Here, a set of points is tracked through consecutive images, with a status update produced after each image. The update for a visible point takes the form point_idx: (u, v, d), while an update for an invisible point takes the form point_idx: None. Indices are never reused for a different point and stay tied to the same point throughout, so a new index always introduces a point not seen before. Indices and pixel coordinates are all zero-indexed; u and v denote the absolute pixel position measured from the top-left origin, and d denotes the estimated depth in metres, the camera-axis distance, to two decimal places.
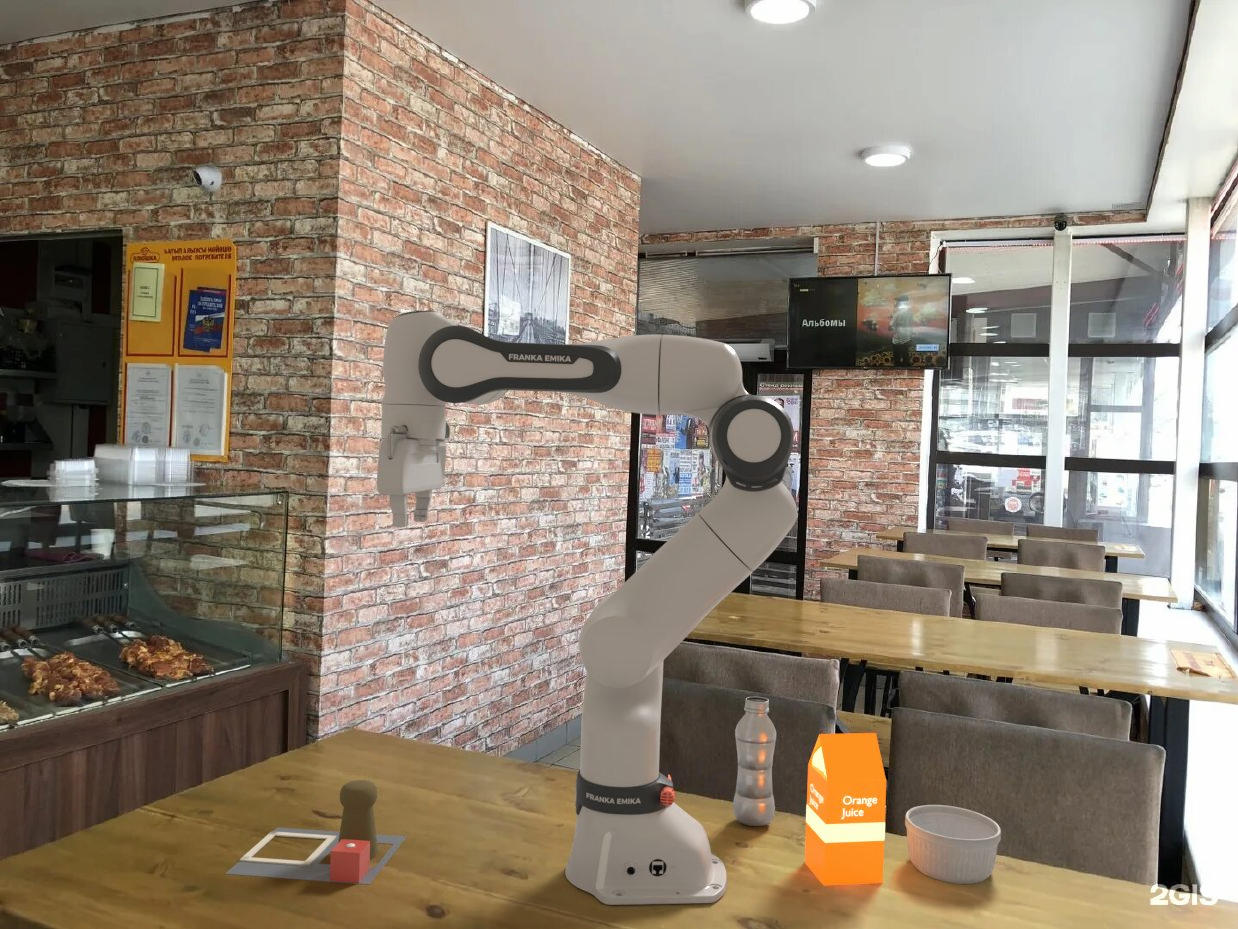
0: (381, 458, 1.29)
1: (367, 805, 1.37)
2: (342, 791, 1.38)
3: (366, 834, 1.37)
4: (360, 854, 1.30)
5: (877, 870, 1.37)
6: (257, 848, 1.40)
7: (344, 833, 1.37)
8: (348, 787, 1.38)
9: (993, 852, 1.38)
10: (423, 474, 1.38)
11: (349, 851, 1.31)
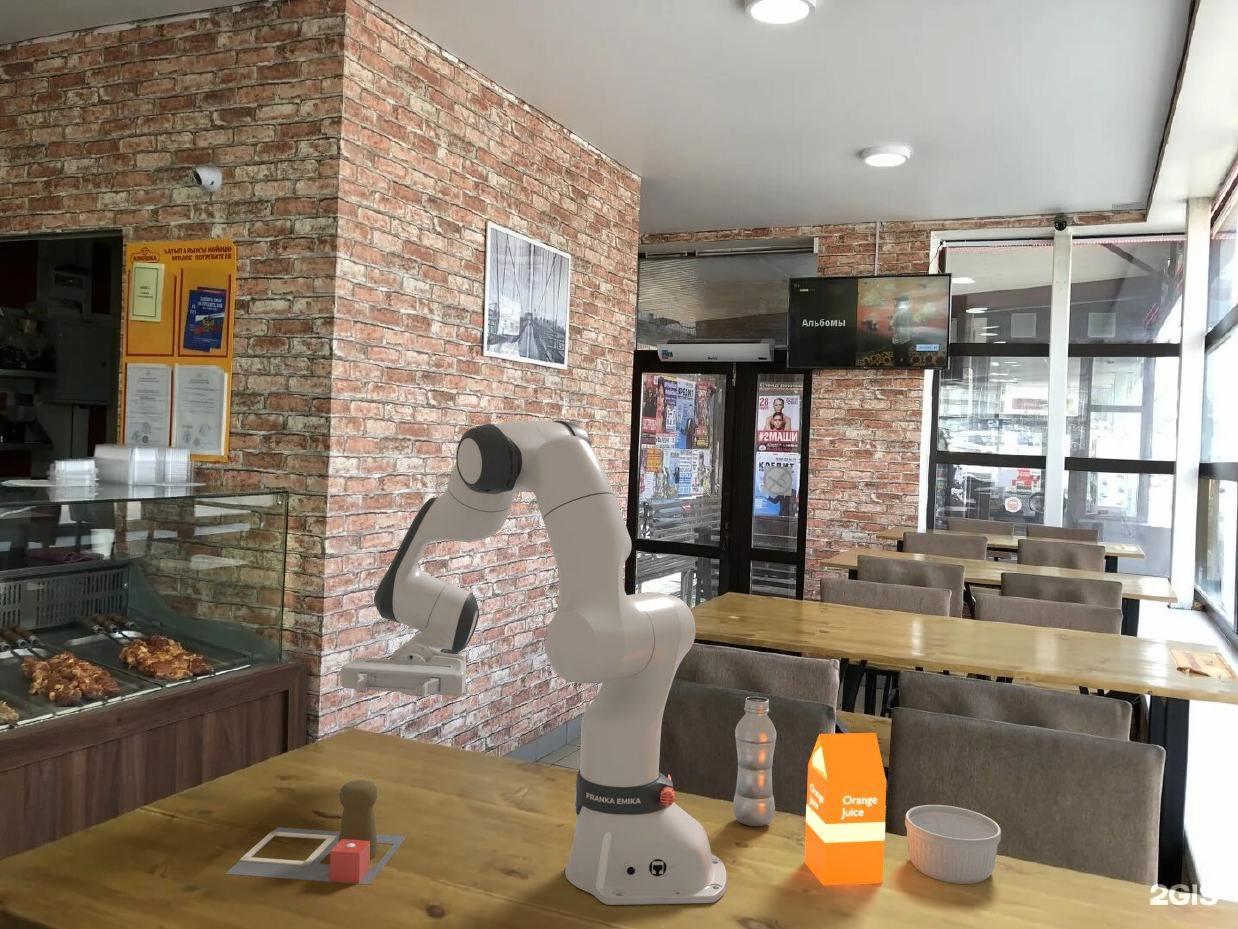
0: None
1: (367, 805, 1.37)
2: (342, 791, 1.38)
3: (366, 834, 1.37)
4: (360, 854, 1.30)
5: (877, 870, 1.37)
6: (257, 848, 1.40)
7: (344, 833, 1.37)
8: (348, 787, 1.38)
9: (993, 852, 1.38)
10: (399, 666, 1.60)
11: (349, 851, 1.31)
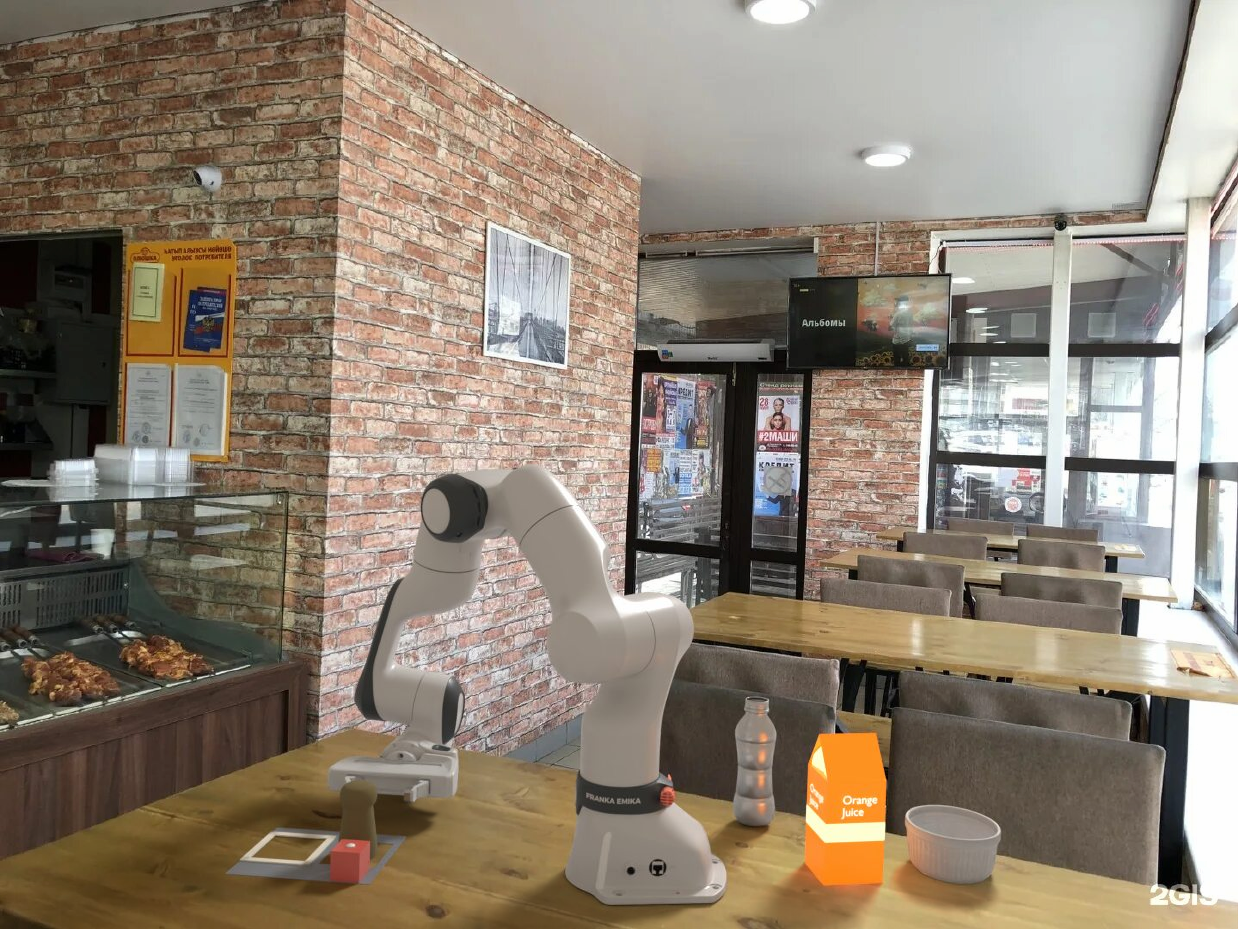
0: None
1: (367, 805, 1.37)
2: (342, 791, 1.38)
3: (366, 834, 1.37)
4: (360, 854, 1.30)
5: (877, 870, 1.37)
6: (257, 848, 1.40)
7: (344, 833, 1.37)
8: (348, 787, 1.38)
9: (993, 852, 1.38)
10: (389, 767, 1.54)
11: (349, 851, 1.31)
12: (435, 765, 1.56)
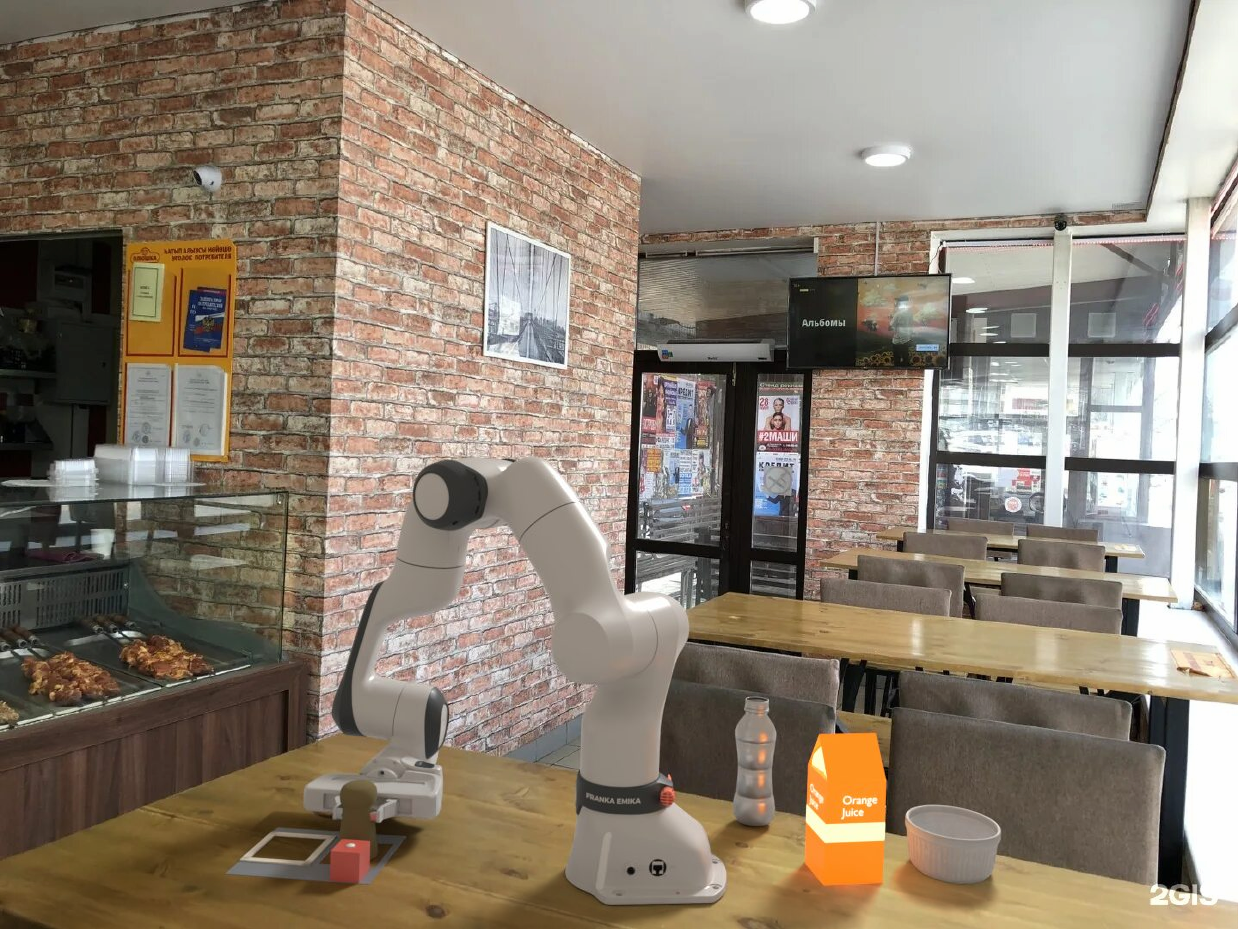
0: None
1: (367, 805, 1.37)
2: (342, 791, 1.38)
3: (366, 834, 1.37)
4: (360, 854, 1.30)
5: (877, 870, 1.37)
6: (257, 848, 1.40)
7: (344, 833, 1.37)
8: (348, 787, 1.38)
9: (993, 852, 1.38)
10: None
11: (349, 851, 1.31)
12: (418, 783, 1.48)
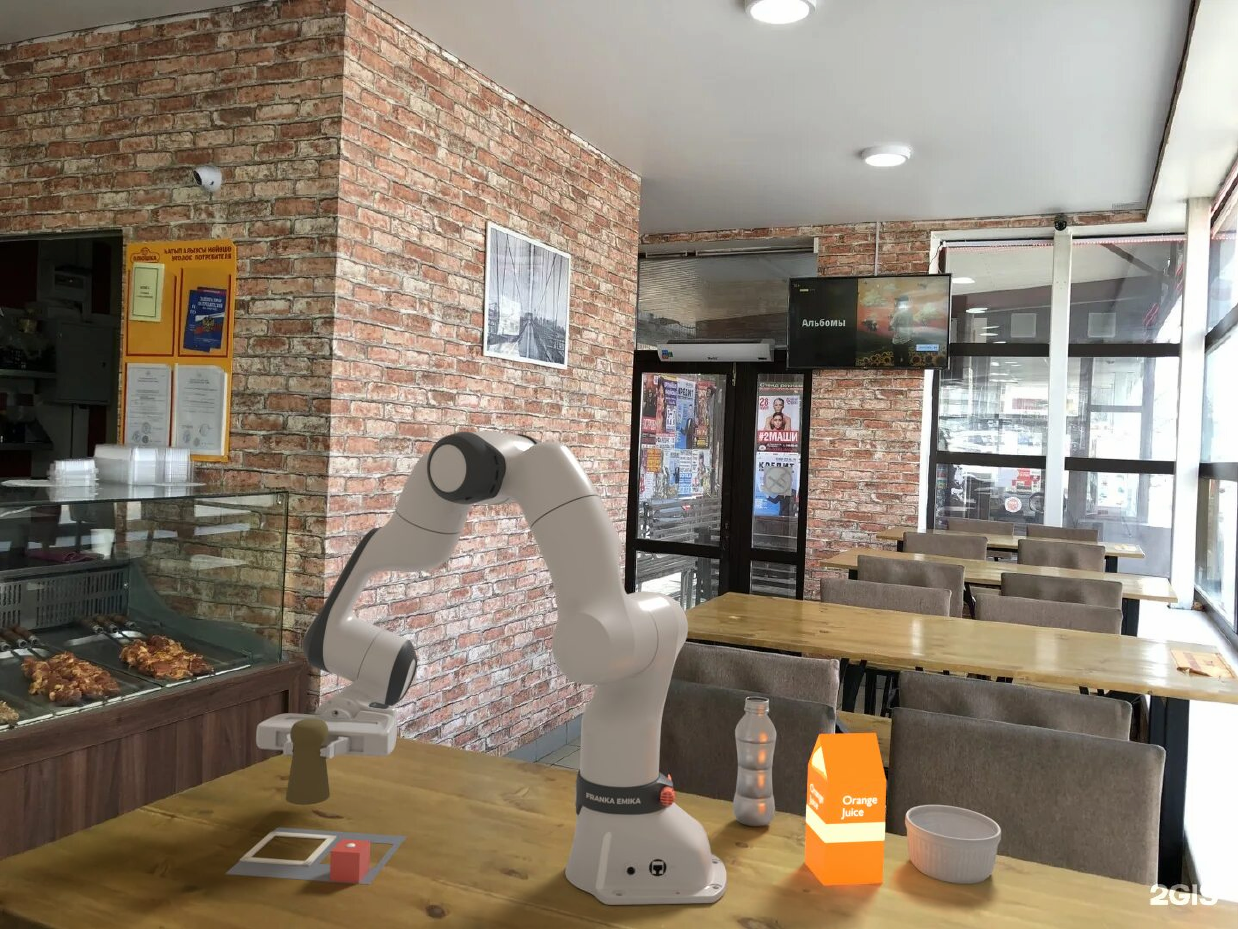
0: None
1: (317, 742, 1.38)
2: (292, 728, 1.38)
3: (316, 771, 1.38)
4: (360, 854, 1.30)
5: (877, 870, 1.37)
6: (257, 848, 1.40)
7: (294, 770, 1.38)
8: (299, 725, 1.38)
9: (993, 852, 1.38)
10: None
11: (349, 851, 1.31)
12: (371, 723, 1.48)
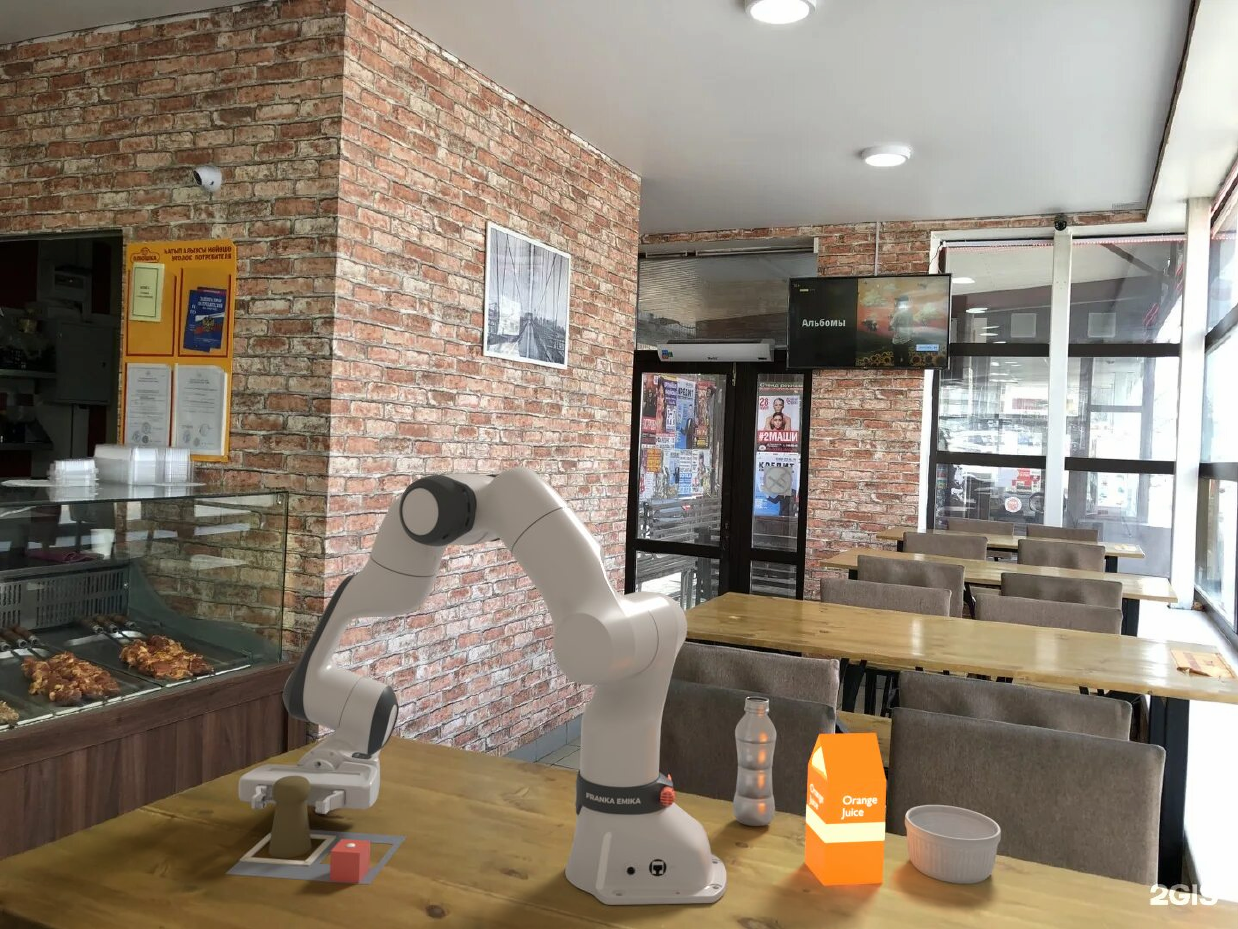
0: None
1: (299, 800, 1.38)
2: (274, 786, 1.39)
3: (298, 829, 1.38)
4: (360, 854, 1.30)
5: (877, 870, 1.37)
6: (257, 848, 1.40)
7: (276, 829, 1.38)
8: (280, 783, 1.39)
9: (993, 852, 1.38)
10: (303, 776, 1.46)
11: (349, 851, 1.31)
12: (354, 774, 1.48)
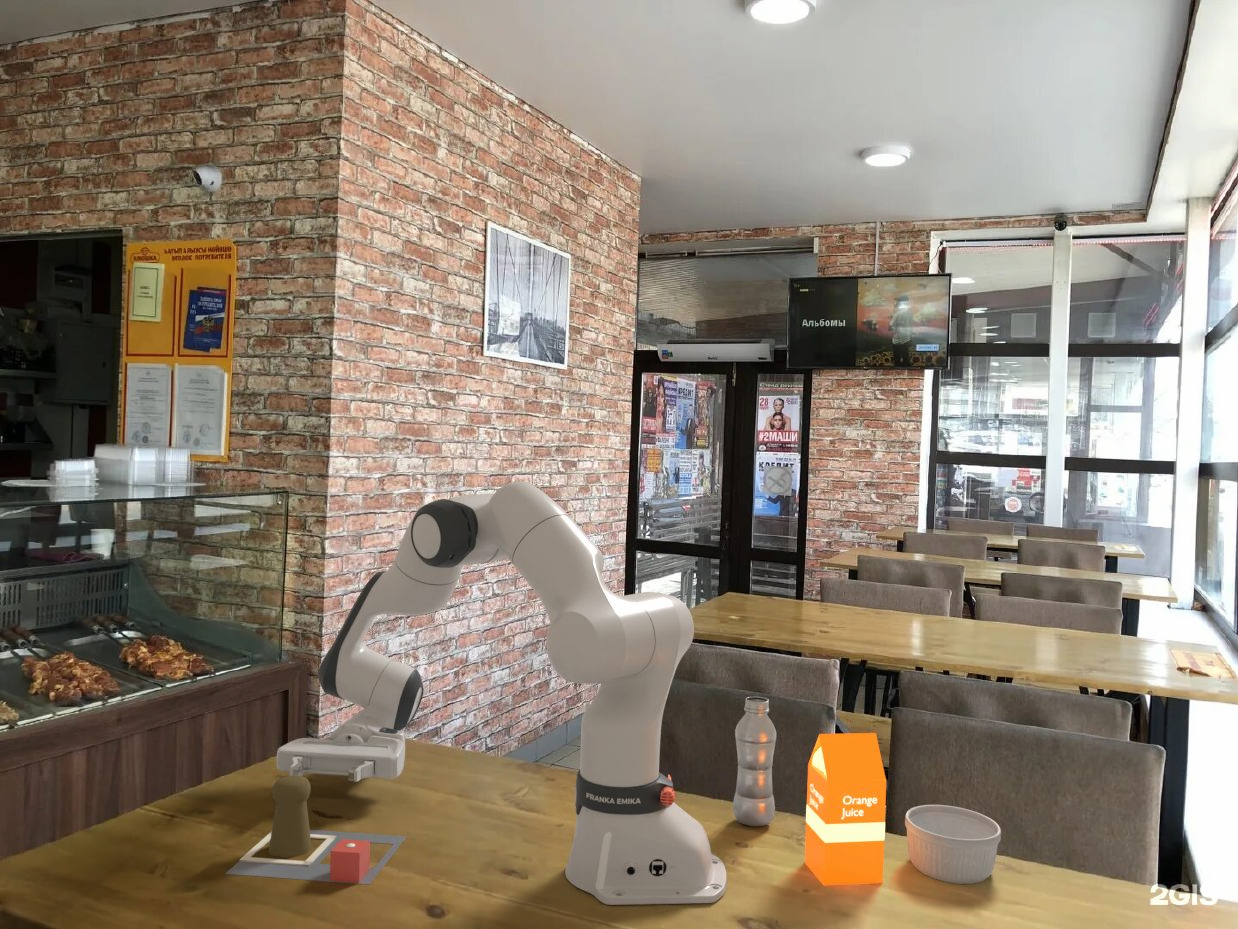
0: None
1: (299, 800, 1.38)
2: (274, 786, 1.39)
3: (298, 829, 1.38)
4: (360, 854, 1.30)
5: (877, 870, 1.37)
6: (257, 848, 1.40)
7: (276, 828, 1.38)
8: (281, 783, 1.39)
9: (993, 852, 1.38)
10: (336, 748, 1.59)
11: (349, 851, 1.31)
12: (381, 747, 1.61)
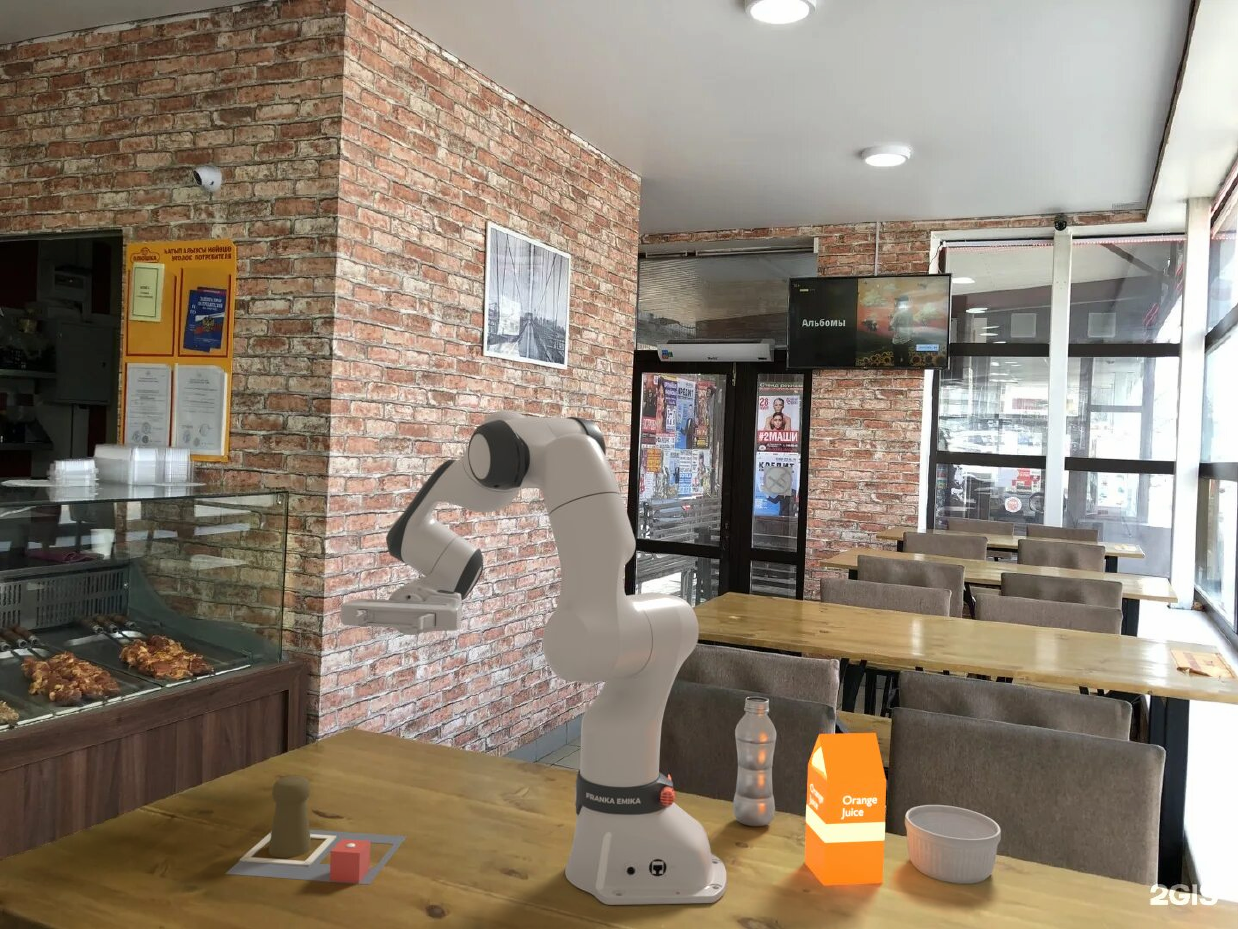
0: None
1: (299, 800, 1.38)
2: (274, 786, 1.39)
3: (298, 829, 1.38)
4: (360, 854, 1.30)
5: (877, 870, 1.37)
6: (257, 848, 1.40)
7: (276, 829, 1.38)
8: (280, 783, 1.39)
9: (993, 852, 1.38)
10: (397, 604, 1.66)
11: (349, 851, 1.31)
12: (440, 605, 1.68)
